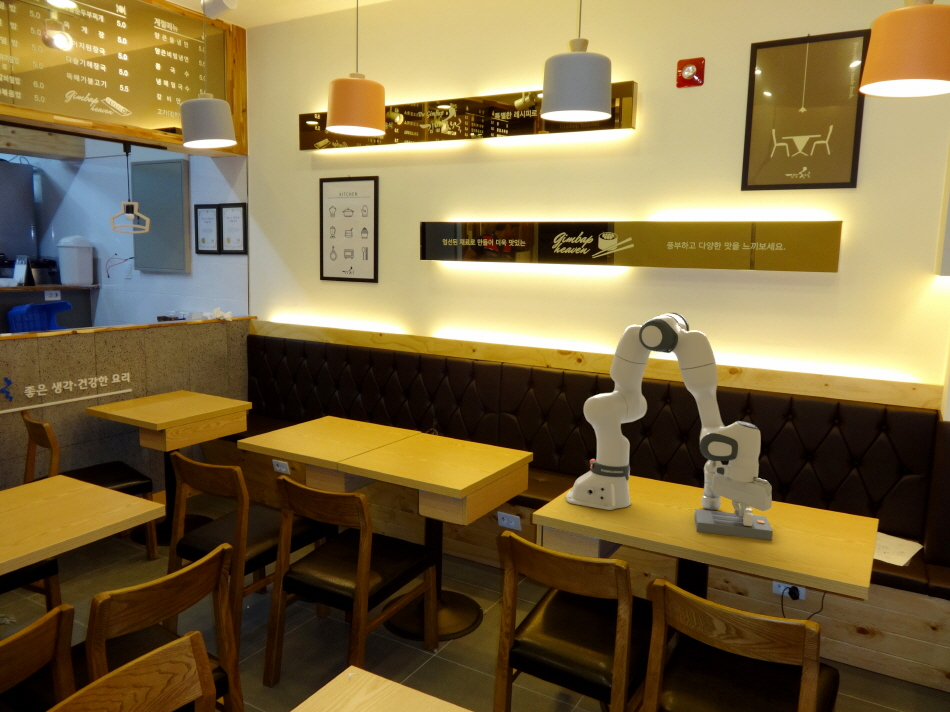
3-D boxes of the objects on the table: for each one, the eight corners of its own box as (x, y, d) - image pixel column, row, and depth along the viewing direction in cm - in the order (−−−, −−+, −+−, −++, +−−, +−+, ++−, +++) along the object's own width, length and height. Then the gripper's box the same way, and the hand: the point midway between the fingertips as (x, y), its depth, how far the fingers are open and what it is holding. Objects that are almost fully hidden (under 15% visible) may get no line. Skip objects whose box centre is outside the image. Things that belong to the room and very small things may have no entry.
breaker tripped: (743, 520, 221) (744, 509, 221) (742, 518, 223) (743, 507, 222) (751, 521, 220) (752, 510, 220) (750, 519, 222) (751, 508, 222)
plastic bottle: (717, 506, 244) (722, 450, 242) (722, 513, 238) (727, 455, 235) (698, 505, 245) (703, 449, 242) (703, 511, 238) (707, 454, 236)
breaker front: (743, 525, 217) (744, 514, 216) (743, 523, 219) (744, 512, 218) (752, 526, 216) (753, 515, 216) (751, 523, 218) (752, 513, 218)
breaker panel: (696, 531, 219) (697, 521, 219) (694, 517, 232) (695, 507, 232) (771, 540, 214) (772, 529, 214) (765, 525, 227) (765, 515, 226)
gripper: (778, 481, 213) (774, 524, 215) (723, 463, 230) (719, 504, 232) (765, 483, 210) (761, 527, 211) (710, 466, 227) (706, 507, 228)
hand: (738, 515), depth 222 cm, fingers closed
